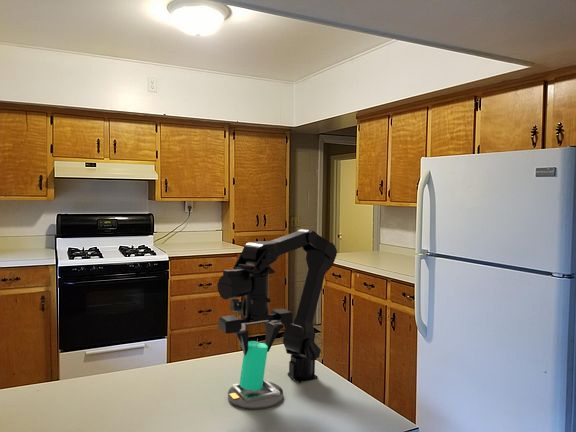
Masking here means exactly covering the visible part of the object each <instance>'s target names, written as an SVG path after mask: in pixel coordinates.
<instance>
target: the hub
mask: <svg viewBox="0 0 576 432" xmlns="http://www.w3.org/2000/svg"><path fill="white" fill-rule="evenodd" d="M239 384H240V382H238V383H234V384H232V385H231V387H229V389H228V391H227V400H228V403H230V405H232V406H233V407H235V408H239V409H242V410H245V411H246V410H248V411H261V410H262V411H263V410H267V409H270V408H274V407H276V406H277V405H279V404H280V403H281V402H282V401H283V400H284V391H283V388H282V387H281V386H279V384H276V383H274V382H272V381H268V380H267V379H266V378H264V379H263V386H262V389H260V390H247V389H244V388H242V387H241V386H240V385H239Z"/></svg>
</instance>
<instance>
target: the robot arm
mask: <svg viewBox="0 0 576 432" xmlns="http://www.w3.org/2000/svg"><path fill="white" fill-rule="evenodd" d="M300 248H301V250H303V251H304V252H305V253H306V256H305V261H306V266H307V269H308V270H307V274H306V277H305V279H304V280H305V281H304V285H303V288H302V292H301V296H300V299H299V304H298V306H297V307H298V308H297V310H296V315H295V317H294V314H293V312H291V311H290V310H288V309H285V308H275V309H271V311H270V313H269V303H271V300H272V299H271V297H269V275H273V274H275V272H276V271H275V270H274V268H272V266H271V265H272V264H274V263H275V262H277V260H278V258H279V257H281V256H282V255H284V254H287V253H290V252H293V251H295V250H298V249H300ZM337 254H338V250H337V248H336V246H335V243H333V242H330V241H329V240H327V239H326V238H324V237H323V236H321V235H319V234H318V233H317V232H316V231H315V230H313V229H306V228H300V229H298V230H297V231H294V232H292V233H289V234H286V235H283V236H280V237H278V238H275V239H272V240H266V241H263V240H262V241H251V242H250V241H249V242H247V243H246V244H244V245H243V248H242V251H241V252H240V255H239V256H238V258H237V260H236V262H235V264H234V265H233V268H232V269H223V271H222V275H221V276H220V277H219V280H218V282H217V285H216V287H217V292H218V295H219V296H220V297H221V299H223V300H226V301H227V300H230V305H229V306H230V311H231V313H234V312H235V313H237V316H243V317H241V318H239V317H237V316H236V315H235V314H232V315H224V316H220V318H219V319H218V320H217V322H218V323H217V325H218V327H217V328H218V329H220V330H221V331H222V332H223V333H225V334H235V335H236V337H237V339H238V341H239V344H240V346H241V351H242V352H243V356H244V355H245V356H246V354H247V351H248V342H249V331H248V330H247V328H246V326H253V325H257V324H264V327H265V341H264V342H265V344H266V345H267V346H268V350H267V353H269V352H270V349H271V348H272V345H273V344H274V341H275V339H276V338H277V337H278V334H279V333H280V331H281V330H282V329H284V328H285V329H284V332H283V334H282V344H283V345H284V349H285V351H286V352H285V353H286V354H289V355H290V360H289V362H288V363H289V365H288V369H289V370H288V372H287V376H288V377H290V378H291V379H293V380H294V381H295V382H297V383H304V382H308V381H312V380H317V379H318V378H319V377H318V375H317V374H315V373H316V371H315V370H316V368H315V367H316V361H317V359H319V358H320V356H321V352H322V349H321V348H320V347H319V346H318V344H316V342H315V339H316V338H315V337H316V333H315V331H316V330H315V328H314V318H315V314H316V311H317V305H318V303H319V298H320V295H321V292H322V288H323V287H322V286H323V284H324V279H325V276H326V273H327V272H328V271H330V269H331V268H332V267H333V265H334V263H335V260H336V258H337V256H338V255H337ZM240 297H241V298H242V301H240V299H239V298H240Z"/></svg>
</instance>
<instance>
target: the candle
mask: <svg viewBox="0 0 576 432" xmlns="http://www.w3.org/2000/svg"><path fill="white" fill-rule="evenodd" d="M267 350H268V346H267V345H266V344H265V343H263V342H259V341H258V338H257V339H256V340H250V341H249V340H248V351H247V354H246V356H245V355H244V354H243V355H242V356H243V357H242V363H241V364H242V365H241V371H240V379H239V383H240V384H239V385H240V386H241V387H242V388H244V389H247V390H260V389H262V386H263V379H265V378H264V377H265V373H266V372H265V371H266V364H267V357H268V356H267V355H268V352H267Z"/></svg>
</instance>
